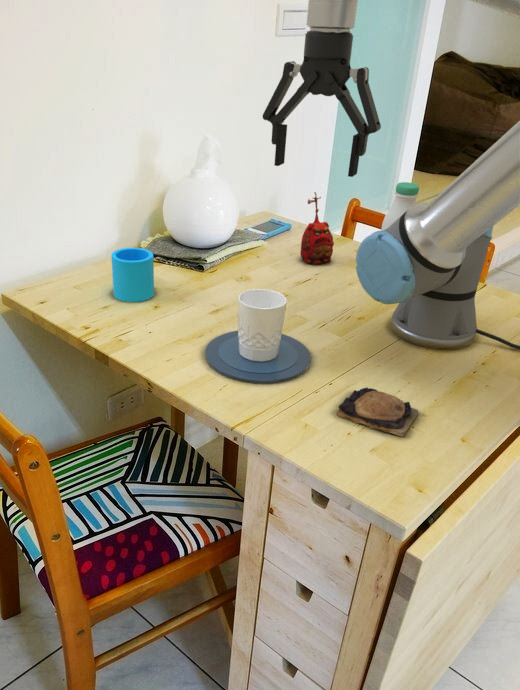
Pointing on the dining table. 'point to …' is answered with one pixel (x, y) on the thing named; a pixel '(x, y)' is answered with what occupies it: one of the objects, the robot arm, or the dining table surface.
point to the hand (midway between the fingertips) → (315, 169)
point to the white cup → (260, 323)
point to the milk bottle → (401, 202)
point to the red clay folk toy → (317, 240)
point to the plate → (233, 365)
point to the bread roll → (378, 411)
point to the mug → (133, 274)
